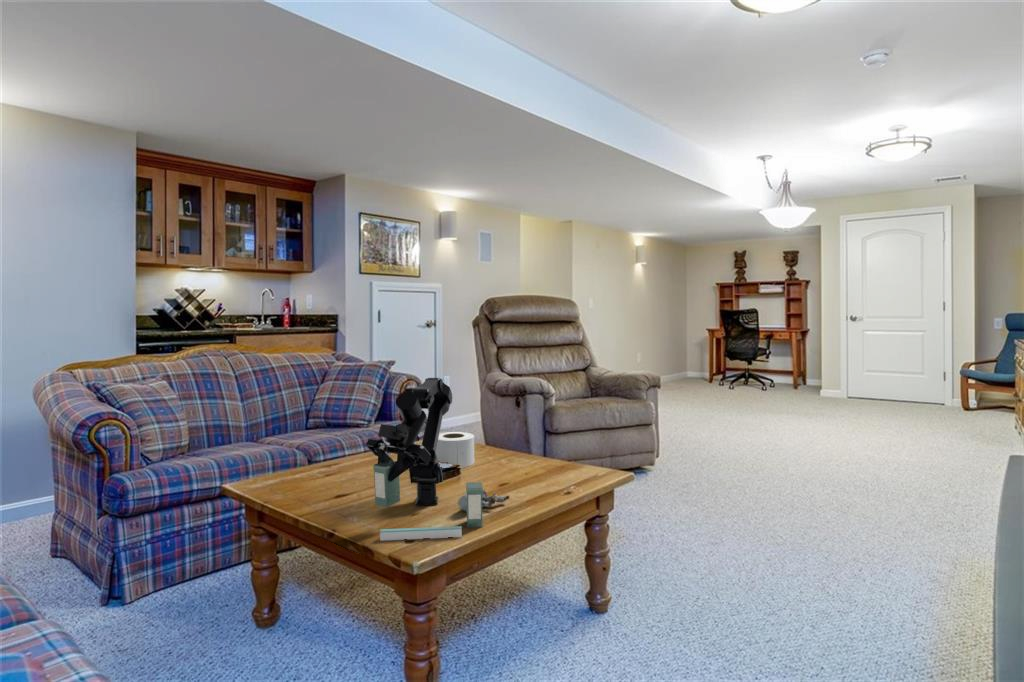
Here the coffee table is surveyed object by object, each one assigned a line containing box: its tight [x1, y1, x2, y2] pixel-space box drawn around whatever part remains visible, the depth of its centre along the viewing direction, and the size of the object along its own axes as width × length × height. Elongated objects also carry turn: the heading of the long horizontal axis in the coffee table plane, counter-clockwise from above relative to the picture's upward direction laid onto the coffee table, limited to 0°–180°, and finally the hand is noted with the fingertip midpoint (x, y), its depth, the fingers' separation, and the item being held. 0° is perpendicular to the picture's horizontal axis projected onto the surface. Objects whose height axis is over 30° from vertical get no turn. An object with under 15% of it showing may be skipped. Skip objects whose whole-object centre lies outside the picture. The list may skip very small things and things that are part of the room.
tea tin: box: [372, 460, 401, 508], centre depth 150 cm, size 5×4×10 cm
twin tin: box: [465, 481, 484, 529], centre depth 154 cm, size 5×4×10 cm
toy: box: [457, 489, 510, 513], centre depth 167 cm, size 7×11×15 cm
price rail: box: [379, 525, 463, 542], centre depth 144 cm, size 1×20×2 cm, turn 96°
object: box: [436, 431, 475, 468], centre depth 218 cm, size 16×15×11 cm
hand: (383, 479), depth 149 cm, fingers closed on tea tin, 4 cm apart
